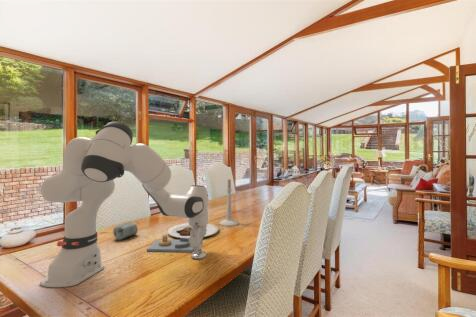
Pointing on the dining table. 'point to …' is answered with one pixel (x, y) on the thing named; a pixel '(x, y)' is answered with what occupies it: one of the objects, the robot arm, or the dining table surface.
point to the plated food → (185, 229)
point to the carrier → (170, 245)
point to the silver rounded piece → (199, 254)
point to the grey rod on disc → (229, 210)
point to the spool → (125, 230)
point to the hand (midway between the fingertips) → (198, 250)
